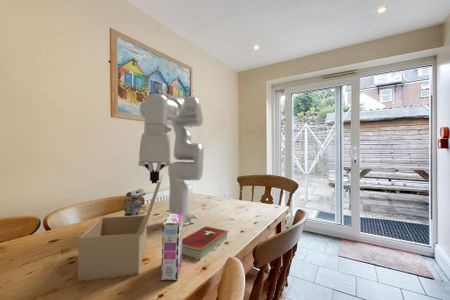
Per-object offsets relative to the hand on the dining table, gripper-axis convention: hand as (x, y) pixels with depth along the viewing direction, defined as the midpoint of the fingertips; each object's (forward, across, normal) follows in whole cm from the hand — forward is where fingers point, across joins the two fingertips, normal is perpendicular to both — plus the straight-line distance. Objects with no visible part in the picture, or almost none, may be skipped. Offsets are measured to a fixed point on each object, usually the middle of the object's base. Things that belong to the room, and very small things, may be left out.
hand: (154, 182), depth 75 cm
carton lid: (+6, +1, 0) cm, 6 cm away
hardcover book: (+26, -18, -7) cm, 33 cm away
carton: (+26, +11, 0) cm, 28 cm away
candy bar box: (+26, -7, +9) cm, 29 cm away
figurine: (+26, +14, -50) cm, 58 cm away
